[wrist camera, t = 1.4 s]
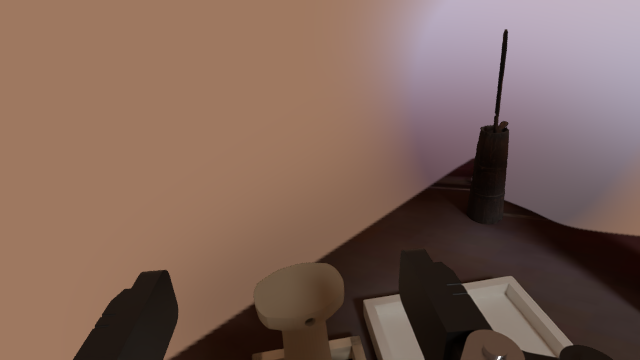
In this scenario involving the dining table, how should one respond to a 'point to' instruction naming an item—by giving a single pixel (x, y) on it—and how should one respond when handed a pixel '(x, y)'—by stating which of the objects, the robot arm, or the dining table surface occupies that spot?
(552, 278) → the dining table surface
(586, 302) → the dining table surface
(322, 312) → the handle
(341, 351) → the wooden square frame
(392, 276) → the dining table surface
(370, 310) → the tray
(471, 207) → the butter churn
